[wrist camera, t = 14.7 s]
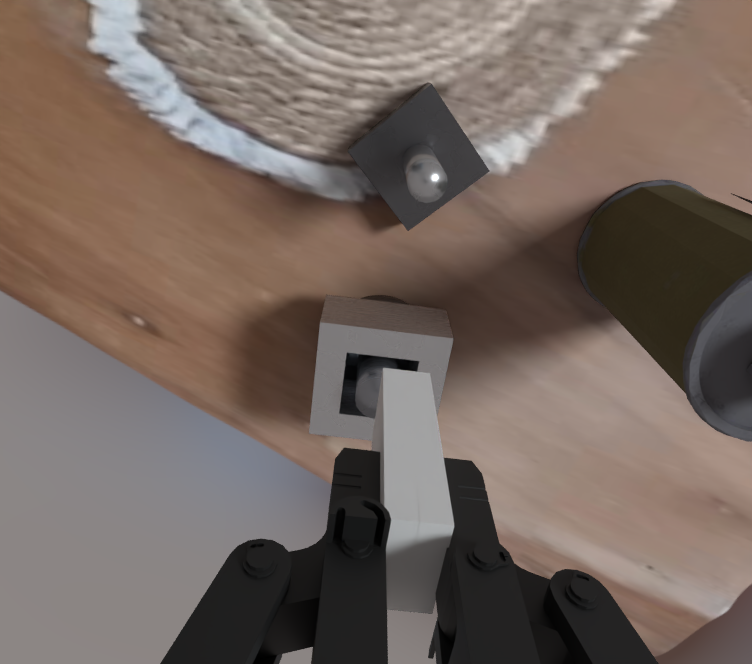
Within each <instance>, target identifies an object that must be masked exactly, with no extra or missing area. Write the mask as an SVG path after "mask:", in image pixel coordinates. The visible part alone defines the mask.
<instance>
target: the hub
mask: <svg viewBox="0 0 752 664" xmlns="http://www.w3.org/2000/svg"><path fill="white" fill-rule="evenodd" d="M361 299H367V300H375V301H383V302H391V303H399V304H407V303H406V302H404V301H402V300H400V299H397V298H394V297H390V296H383V295H375V296H368V297H364V298H361ZM407 305H409V304H407ZM409 362H410V360H406V359H398V358H389V357H381V356H373V355H364V354H356V353H348V352H347V354H346V362H345V370H344V378H343V379H349V380H357V381H356V395H355V402H356V406H357V408H358V409H359V411H360V412H361V413H362V414H364V415H365V416H367V417H369V418H373V419H375V416H376V410H377V403H378V397H379V391H380V384H381V378H382V372H383V368H390V369H398V370H407V371H408V368H409Z"/></svg>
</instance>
